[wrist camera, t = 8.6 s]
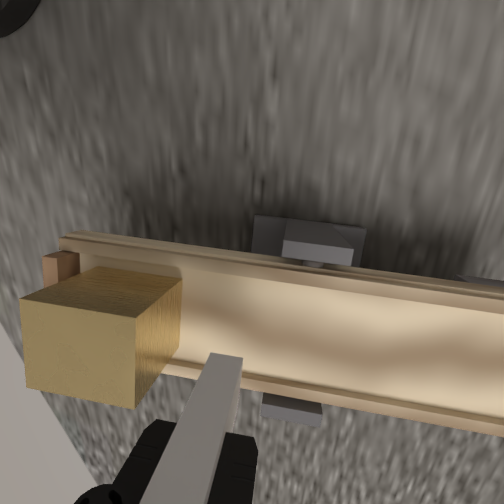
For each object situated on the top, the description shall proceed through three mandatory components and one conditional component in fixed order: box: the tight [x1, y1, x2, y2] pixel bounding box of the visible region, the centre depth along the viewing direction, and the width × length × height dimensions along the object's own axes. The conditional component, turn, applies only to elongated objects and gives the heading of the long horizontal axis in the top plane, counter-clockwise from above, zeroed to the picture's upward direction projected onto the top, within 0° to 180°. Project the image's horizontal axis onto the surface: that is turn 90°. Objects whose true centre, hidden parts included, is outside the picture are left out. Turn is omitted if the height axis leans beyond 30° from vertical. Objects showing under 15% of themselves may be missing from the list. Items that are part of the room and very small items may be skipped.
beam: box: [42, 230, 504, 437], centre depth 21 cm, size 10×33×8 cm, turn 84°
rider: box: [19, 266, 183, 410], centre depth 18 cm, size 5×6×6 cm
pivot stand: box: [251, 214, 367, 427], centre depth 24 cm, size 12×10×12 cm
